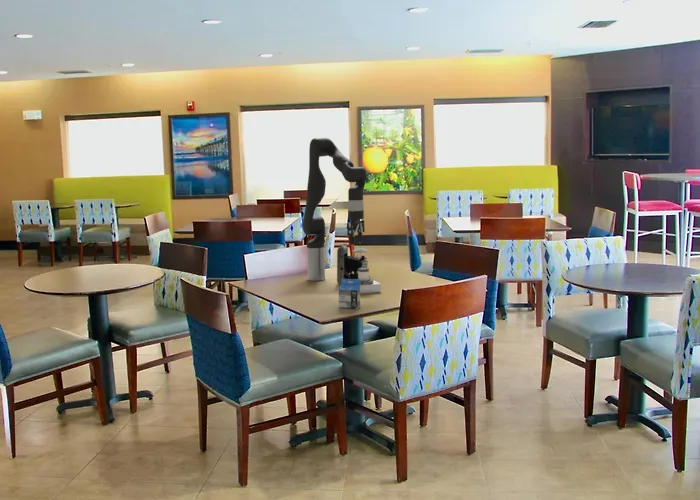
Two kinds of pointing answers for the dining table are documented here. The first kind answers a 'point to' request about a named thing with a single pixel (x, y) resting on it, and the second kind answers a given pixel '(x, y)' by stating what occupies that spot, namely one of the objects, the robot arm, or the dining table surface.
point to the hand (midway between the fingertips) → (356, 243)
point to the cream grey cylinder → (363, 274)
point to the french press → (360, 250)
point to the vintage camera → (347, 264)
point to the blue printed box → (349, 294)
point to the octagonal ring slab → (369, 286)
